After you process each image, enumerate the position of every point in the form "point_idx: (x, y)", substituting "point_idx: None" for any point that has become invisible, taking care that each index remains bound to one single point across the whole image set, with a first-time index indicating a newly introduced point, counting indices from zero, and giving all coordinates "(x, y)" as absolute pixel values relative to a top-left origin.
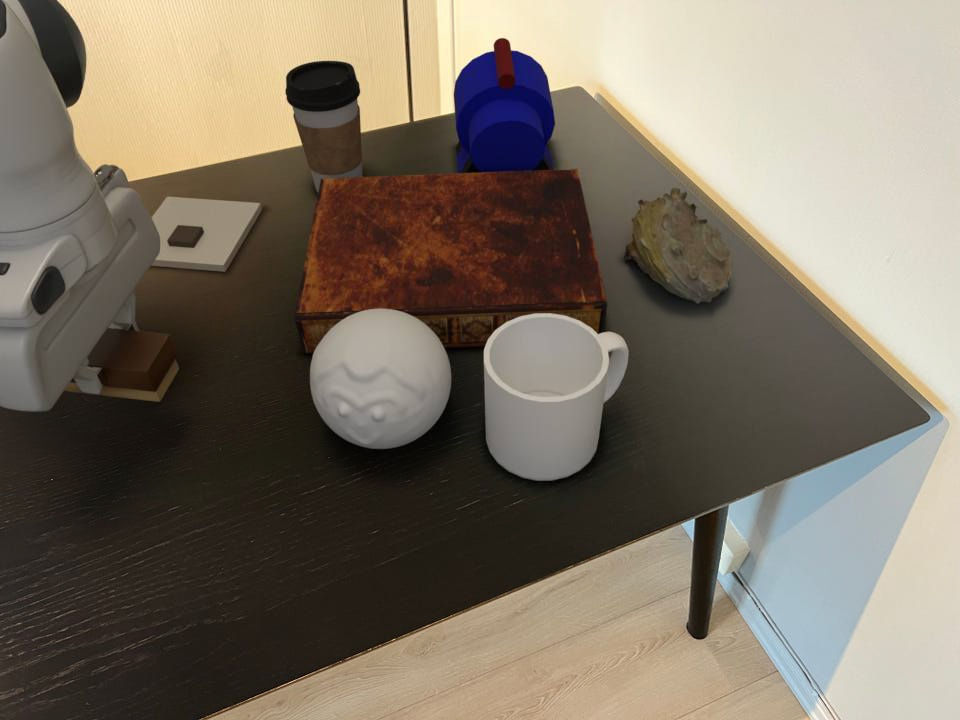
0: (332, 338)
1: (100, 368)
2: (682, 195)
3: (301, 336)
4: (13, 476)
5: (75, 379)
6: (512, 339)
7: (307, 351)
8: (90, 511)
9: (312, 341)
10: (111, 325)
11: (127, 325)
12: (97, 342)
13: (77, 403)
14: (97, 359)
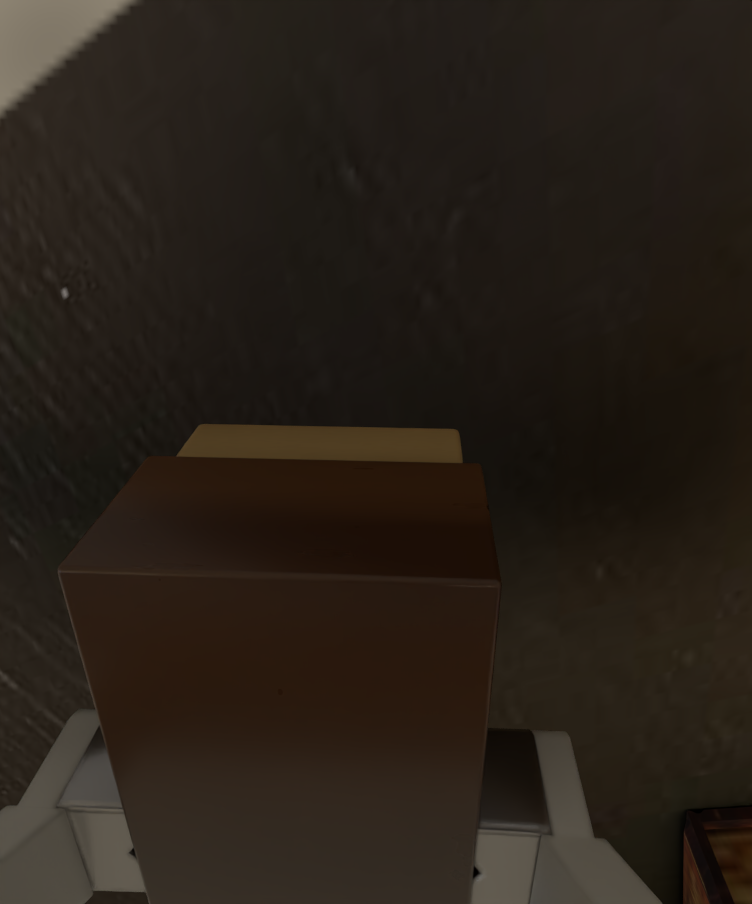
0: None
1: (140, 884)
2: None
3: (712, 892)
4: (20, 124)
5: (29, 794)
6: None
7: (684, 836)
8: (9, 475)
9: (700, 890)
10: (507, 838)
11: (515, 902)
12: (326, 832)
13: (428, 189)
14: (187, 872)
